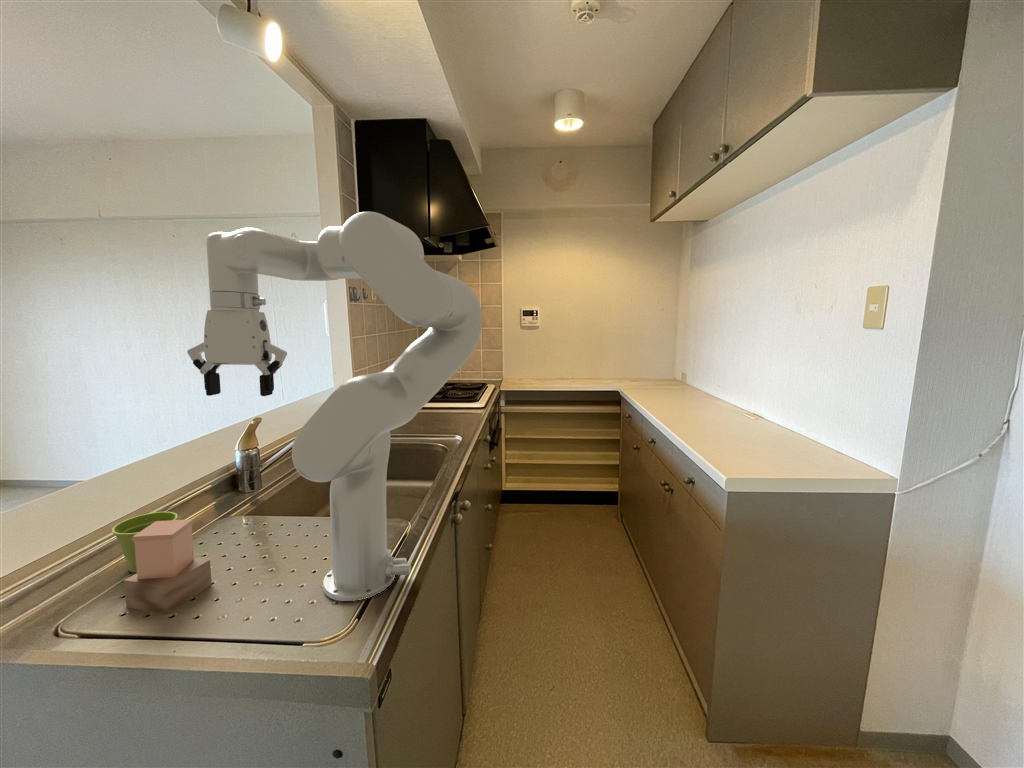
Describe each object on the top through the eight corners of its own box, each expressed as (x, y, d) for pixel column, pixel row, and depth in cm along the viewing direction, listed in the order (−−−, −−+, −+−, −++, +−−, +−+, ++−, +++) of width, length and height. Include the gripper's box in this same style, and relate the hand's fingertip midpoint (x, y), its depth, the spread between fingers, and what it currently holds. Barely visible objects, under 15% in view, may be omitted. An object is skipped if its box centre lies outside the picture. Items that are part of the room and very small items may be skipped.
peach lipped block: (195, 558, 73) (192, 519, 72) (175, 577, 68) (172, 534, 67) (159, 561, 72) (156, 521, 71) (135, 580, 67) (132, 536, 66)
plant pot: (143, 581, 74) (139, 536, 73) (102, 574, 76) (97, 530, 75) (192, 554, 83) (189, 514, 82) (155, 549, 85) (151, 509, 84)
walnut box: (211, 585, 74) (209, 559, 73) (167, 615, 66) (164, 586, 65) (174, 580, 75) (172, 554, 74) (126, 608, 67) (123, 580, 66)
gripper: (292, 306, 80) (296, 392, 82) (200, 304, 79) (205, 391, 81) (273, 303, 73) (277, 398, 75) (170, 300, 71) (177, 397, 73)
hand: (240, 394), depth 78 cm, fingers open, 9 cm apart
